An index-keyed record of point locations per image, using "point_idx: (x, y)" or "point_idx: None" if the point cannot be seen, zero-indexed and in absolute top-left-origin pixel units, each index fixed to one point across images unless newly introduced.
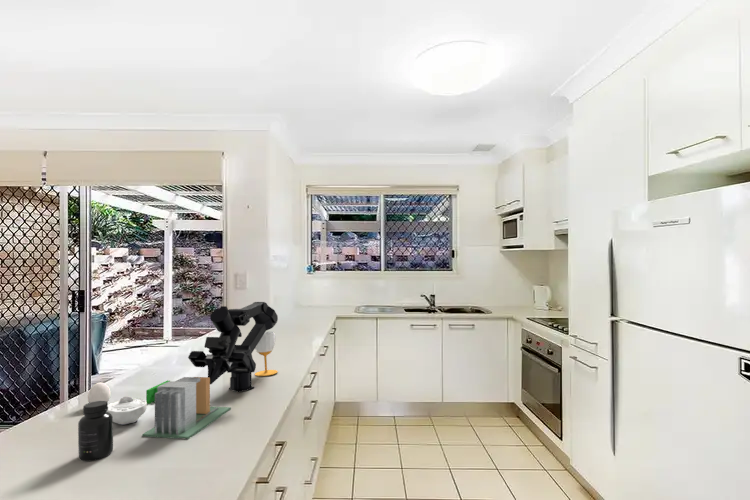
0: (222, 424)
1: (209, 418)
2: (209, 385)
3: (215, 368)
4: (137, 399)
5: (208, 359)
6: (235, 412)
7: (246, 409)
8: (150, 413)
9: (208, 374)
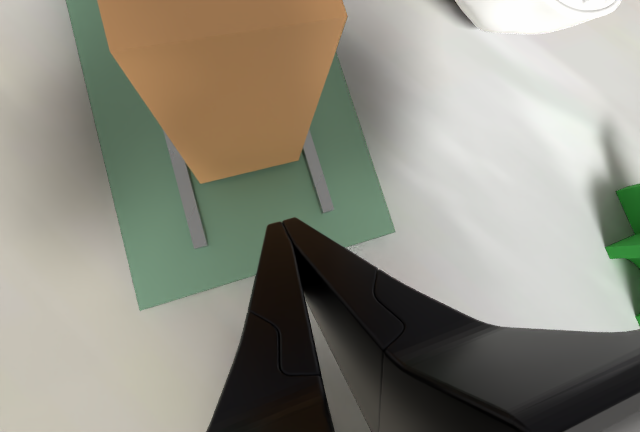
0: (9, 99)
1: (126, 112)
2: (148, 102)
3: (292, 352)
4: (584, 7)
5: (599, 366)
6: (71, 279)
7: (32, 357)
8: (493, 98)
9: (345, 255)
